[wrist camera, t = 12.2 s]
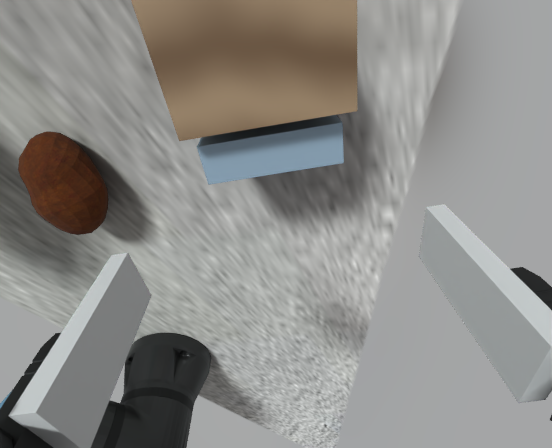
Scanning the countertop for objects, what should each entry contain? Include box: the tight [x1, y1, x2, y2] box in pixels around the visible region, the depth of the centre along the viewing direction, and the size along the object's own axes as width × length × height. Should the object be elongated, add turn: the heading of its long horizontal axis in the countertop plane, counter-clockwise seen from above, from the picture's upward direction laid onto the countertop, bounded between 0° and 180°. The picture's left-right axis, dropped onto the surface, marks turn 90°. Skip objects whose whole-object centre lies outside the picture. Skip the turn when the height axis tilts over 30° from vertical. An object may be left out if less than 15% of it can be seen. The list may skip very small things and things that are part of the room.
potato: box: [18, 132, 108, 235], centre depth 33 cm, size 8×12×8 cm, turn 14°
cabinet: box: [131, 0, 357, 141], centre depth 25 cm, size 14×12×14 cm
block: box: [197, 115, 344, 184], centre depth 29 cm, size 4×11×12 cm, turn 99°
